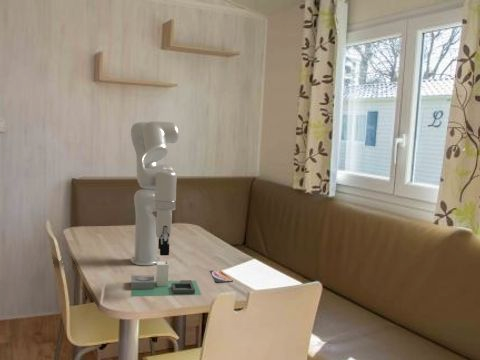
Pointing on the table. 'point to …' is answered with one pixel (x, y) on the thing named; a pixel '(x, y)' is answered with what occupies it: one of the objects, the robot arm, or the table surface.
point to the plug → (162, 274)
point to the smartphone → (220, 277)
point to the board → (162, 287)
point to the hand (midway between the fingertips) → (163, 251)
